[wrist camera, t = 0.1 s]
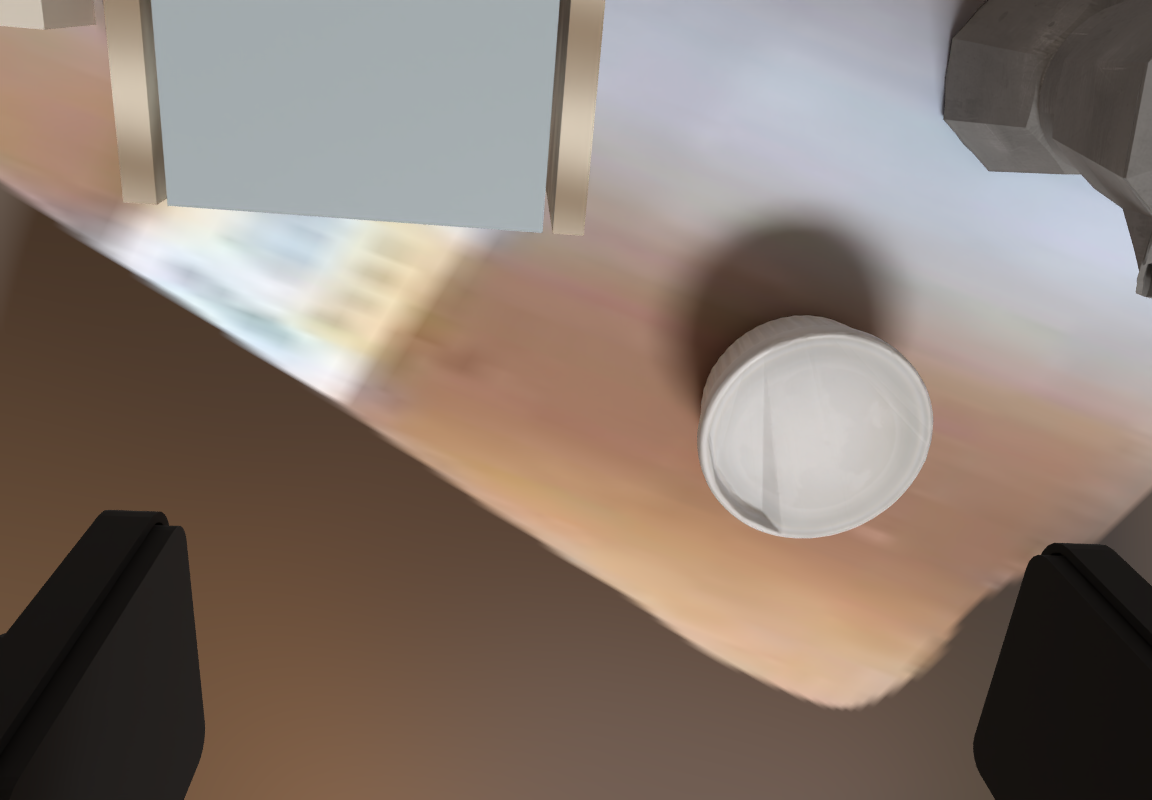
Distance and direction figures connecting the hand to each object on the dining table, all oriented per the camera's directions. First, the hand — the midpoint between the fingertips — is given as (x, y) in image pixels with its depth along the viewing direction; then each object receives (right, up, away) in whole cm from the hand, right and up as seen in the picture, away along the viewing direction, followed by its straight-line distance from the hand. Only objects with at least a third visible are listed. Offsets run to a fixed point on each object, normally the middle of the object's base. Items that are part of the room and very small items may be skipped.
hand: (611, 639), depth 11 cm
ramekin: (+11, +3, +40) cm, 41 cm away
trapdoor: (-8, +17, +24) cm, 30 cm away
